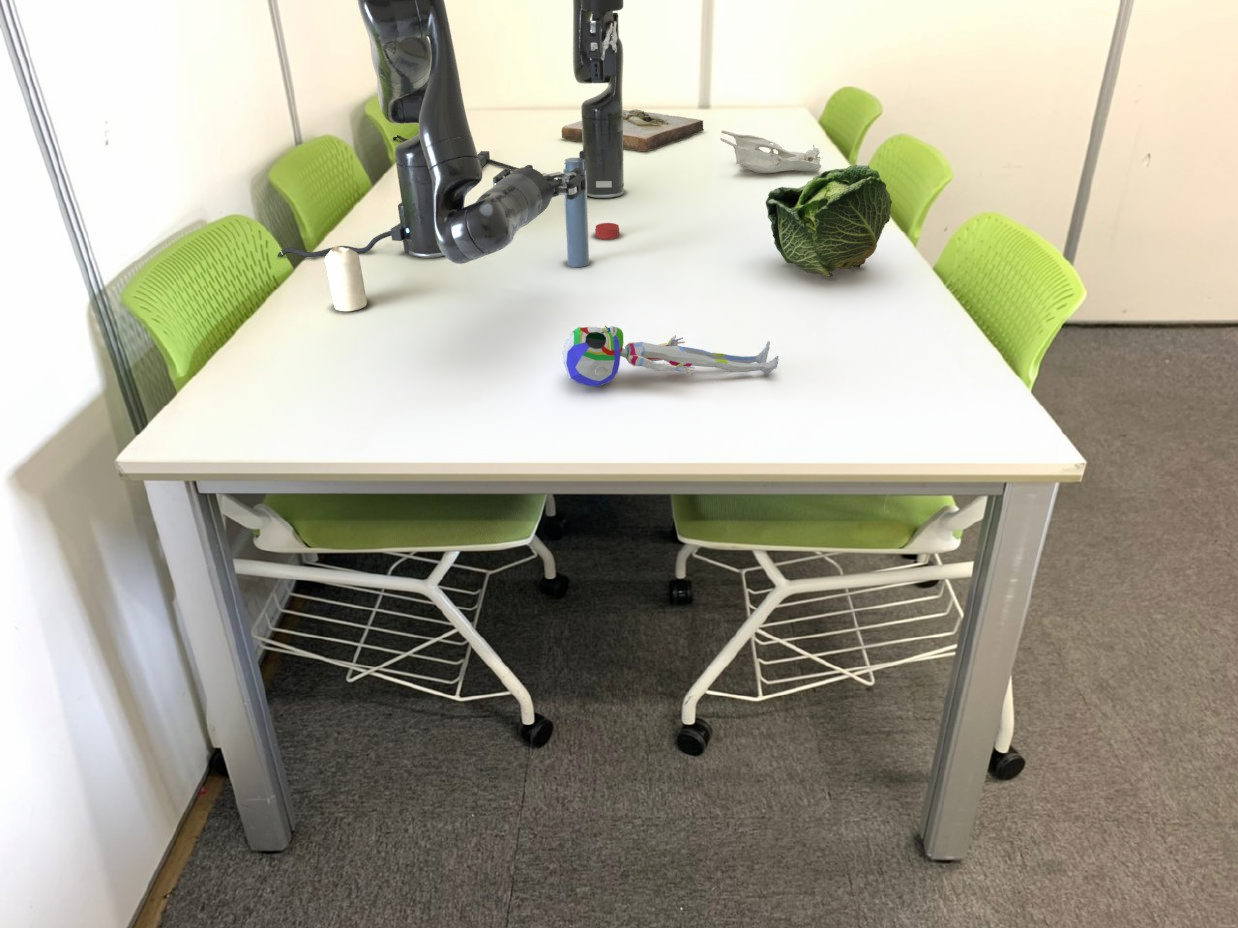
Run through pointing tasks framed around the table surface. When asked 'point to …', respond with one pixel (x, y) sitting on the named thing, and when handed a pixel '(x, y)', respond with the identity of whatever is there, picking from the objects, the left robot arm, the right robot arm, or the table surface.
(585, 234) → the blue cylindrical tube
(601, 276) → the table surface
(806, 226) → the vegetable
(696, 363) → the toy
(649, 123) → the plaque
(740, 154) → the anatomical model
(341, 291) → the candle
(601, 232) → the lid
